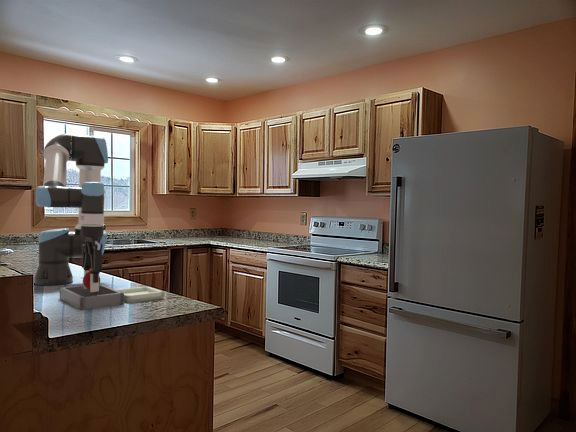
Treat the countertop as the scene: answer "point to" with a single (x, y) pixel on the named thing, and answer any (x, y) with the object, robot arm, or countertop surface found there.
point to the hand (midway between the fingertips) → (91, 289)
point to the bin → (91, 297)
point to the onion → (88, 280)
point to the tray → (141, 294)
